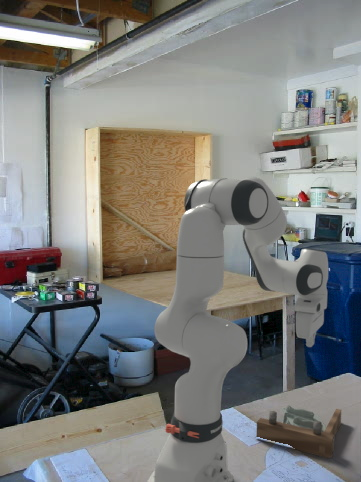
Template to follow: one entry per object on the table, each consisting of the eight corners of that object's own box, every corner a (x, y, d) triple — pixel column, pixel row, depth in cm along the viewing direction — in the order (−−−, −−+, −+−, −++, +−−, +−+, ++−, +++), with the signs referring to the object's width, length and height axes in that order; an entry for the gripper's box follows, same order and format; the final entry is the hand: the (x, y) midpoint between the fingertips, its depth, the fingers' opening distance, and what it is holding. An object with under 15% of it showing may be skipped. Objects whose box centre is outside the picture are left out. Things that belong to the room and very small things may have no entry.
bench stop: (330, 458, 128) (332, 428, 127) (256, 439, 138) (257, 411, 137) (346, 423, 148) (347, 397, 147) (279, 409, 157) (280, 384, 156)
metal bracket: (292, 421, 137) (278, 398, 152) (286, 440, 137) (272, 416, 152) (341, 434, 138) (322, 410, 153) (334, 453, 139) (316, 428, 154)
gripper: (309, 294, 163) (308, 335, 164) (292, 306, 145) (291, 352, 146) (329, 296, 160) (327, 338, 161) (314, 309, 142) (312, 356, 143)
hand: (310, 345), depth 154 cm, fingers closed
